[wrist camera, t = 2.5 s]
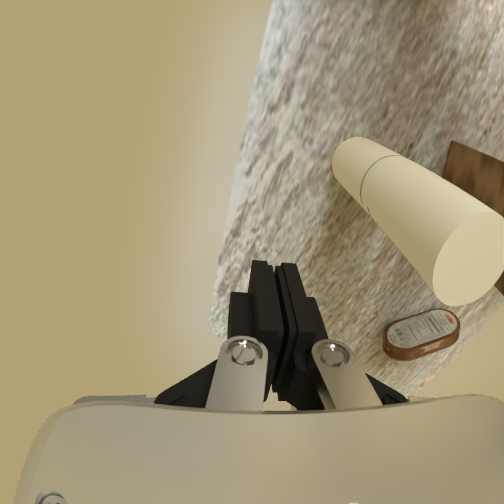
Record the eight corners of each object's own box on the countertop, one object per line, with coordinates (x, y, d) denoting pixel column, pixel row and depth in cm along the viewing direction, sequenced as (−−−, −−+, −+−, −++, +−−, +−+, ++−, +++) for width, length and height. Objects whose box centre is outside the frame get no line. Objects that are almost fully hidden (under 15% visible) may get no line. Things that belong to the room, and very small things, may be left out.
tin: (376, 335, 54) (391, 369, 47) (376, 323, 53) (392, 357, 45) (446, 313, 53) (466, 342, 46) (448, 300, 52) (469, 329, 44)
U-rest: (451, 140, 37) (559, 191, 19) (465, 145, 38) (571, 198, 19) (428, 222, 44) (513, 305, 25) (443, 225, 44) (526, 305, 25)
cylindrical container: (347, 199, 42) (443, 322, 20) (321, 154, 39) (420, 251, 17) (390, 172, 40) (514, 270, 18) (367, 126, 37) (504, 191, 15)
